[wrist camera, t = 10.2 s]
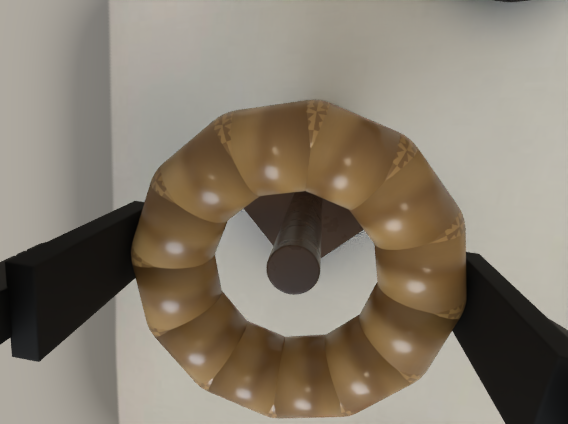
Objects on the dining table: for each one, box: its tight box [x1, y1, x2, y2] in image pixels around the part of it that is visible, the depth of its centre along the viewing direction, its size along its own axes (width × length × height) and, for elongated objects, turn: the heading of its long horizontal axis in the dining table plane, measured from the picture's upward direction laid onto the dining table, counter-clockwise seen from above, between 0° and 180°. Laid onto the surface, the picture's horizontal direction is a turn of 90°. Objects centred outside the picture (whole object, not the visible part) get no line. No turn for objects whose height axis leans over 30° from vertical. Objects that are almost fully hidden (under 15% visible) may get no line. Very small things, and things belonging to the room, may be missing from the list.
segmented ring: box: [131, 100, 467, 418], centre depth 14 cm, size 12×12×3 cm
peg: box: [244, 191, 364, 294], centre depth 20 cm, size 8×8×13 cm
